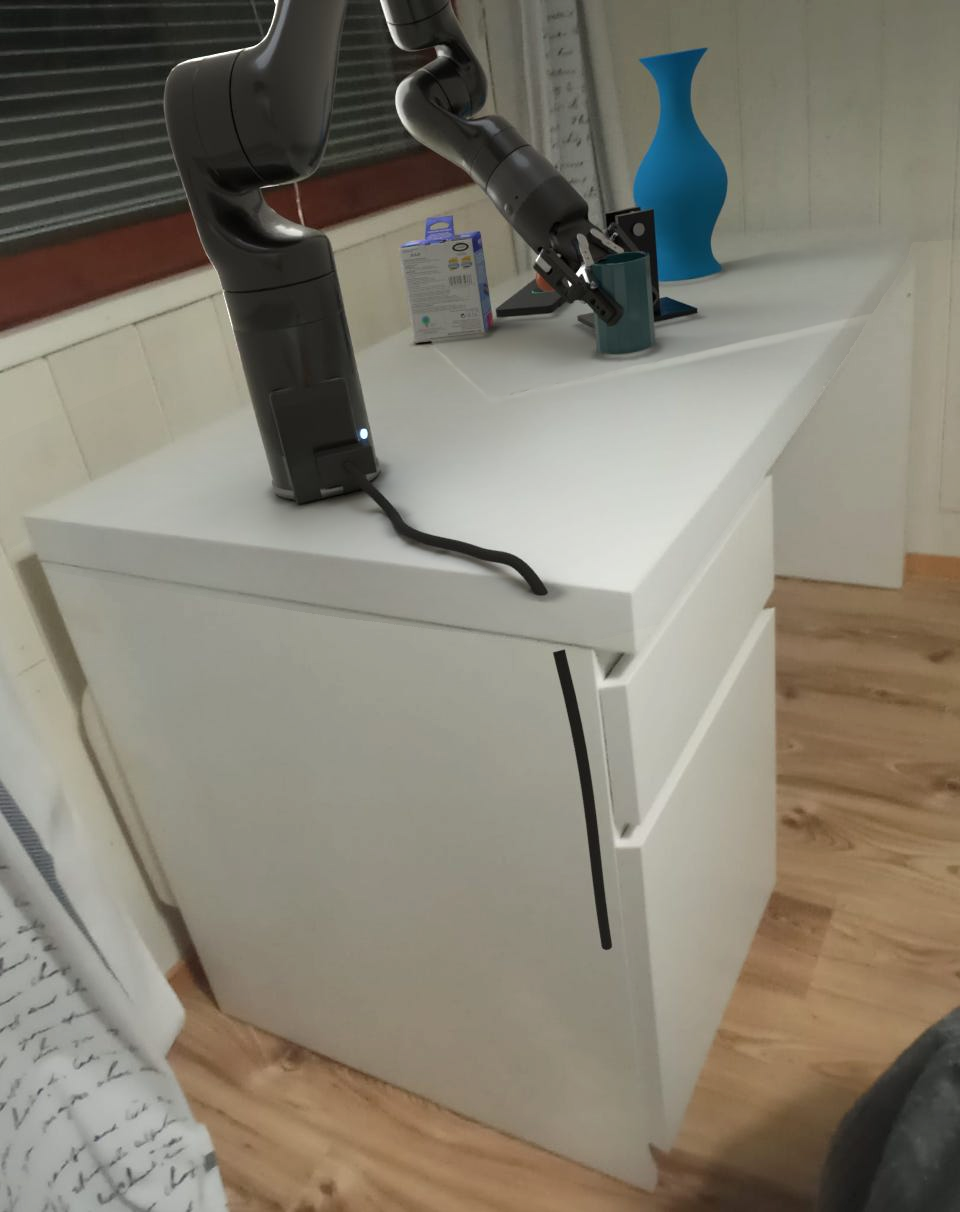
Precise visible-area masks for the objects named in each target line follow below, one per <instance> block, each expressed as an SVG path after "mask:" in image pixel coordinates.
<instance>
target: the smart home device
mask: <svg viewBox="0 0 960 1212" xmlns="http://www.w3.org/2000/svg"><path fill="white" fill-rule="evenodd" d="M562 283H563V284H564V285H565V286H566V287H567V288H568V289H569V288H570V286H569V283H568V281H567V279H566V278H565V277H564V278H563V281H562ZM564 303H566V301H565V300H564V299H563V298H562V297H561V296H560V295H559V294H558V293H557V292H556V291H552V292H546V291H543V290H542V289H540V288H539V286H538V285H537V283H536V278H534V279H532V280H531V281H530V282H529V283H527V284H526V285H525V286H523V287H522V288H521V289H520V290H518V291H517V292H515V293H514V294H513V295H512V296H510V297H509V298H508V299H506V300H505V301H504V302H502V303H501V304H500V305H499V306H497V307H496V308H495V315H496V318H509V317H521V316H532V315H533V316H534V315H544V314H552V313H553V312H555V311H556V310H558V309H559V308H560V307H561V306H562V305H563V304H564Z"/></svg>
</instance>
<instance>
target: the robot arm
mask: <svg viewBox="0 0 960 1212" xmlns="http://www.w3.org/2000/svg"><path fill="white" fill-rule="evenodd" d="M273 1H274V3H275V8H274V13H273V17H272V21H271V24H270V27H269V28H268V31H267V34H266V36H265V37H264V38H263V39H262V40H261V41H260V42H259V43H258V44H256V45H254V46H250V47H245V48H241V49H236V50H230V51H226V52H220V53H216V54H215V53H214V54H211V55H205V56H201V57H196V58H192V59H188V60H186V61H183V62H181V63H178V64H177V65H175V66H174V67H173V68H172V69H171V70H170V72H169V74H168V76H167V78H166V82H165V86H164V92H163V112H164V113H163V114H164V122H165V126H166V127H165V128H166V132H167V136H168V140H169V145H170V148H171V151H172V154H173V158H174V162H175V164H176V168H177V171H178V174H179V177H180V180H181V183H182V186H183V189H184V193H185V195H186V198H187V201H188V204H189V207H190V211H191V215H192V217H193V220H194V223H195V226H196V227H195V228H196V230H197V233H198V237H199V239H200V243H201V245H202V248H203V250H204V252H205V254H206V256H207V257H208V259H209V261H210V263H211V264H212V267H213V268H214V270H215V271H216V274H217V276H218V279H219V283H220V287H221V290H222V295H223V298H224V302H225V307H226V309H227V313H228V317H229V321H230V324H231V329H232V333H233V337H234V341H235V344H236V348H237V352H238V356H239V361H240V363H241V366H242V371H243V374H244V378H245V382H246V386H247V390H248V393H249V397H250V400H251V401H250V402H251V405H252V408H253V412H254V417H255V420H256V423H257V427H258V431H259V435H260V438H261V442H262V446H263V449H264V452H265V453H264V454H265V456H266V460H267V464H268V467H269V472H270V475H271V484H272V487H273V490H274V494H276V495H277V496H279V497H280V498H284V499H288V500H293V501H295V503H296V504H297V505H298V504H303V503H304V504H305V503H308V502H312V501H317V500H321V499H325V498H329V497H334V496H338V495H343V494H346V493H351V492H355V491H359V490H363V491H364V492H365V493H366V494H367V495H368V496H369V497H370V498H371V500H373V501H374V503H376V505H378V506H379V507H380V509H381V510H382V511H383V512H384V513H385V514H386V515H387V517H388V518H389V519H390V521H391V523H392V524H393V526H394V528H395V530H397V532H398V533H400V534H401V535H403V536H404V537H406V538H408V539H410V540H412V541H414V542H416V543H420V544H422V545H425V546H430V547H433V548H438V549H442V550H446V551H450V552H451V551H452V552H455V553H459V554H462V555H467V556H469V557H471V558H472V557H473V558H474V559H478V560H482V561H484V562H490V563H496V564H500V565H502V564H503V565H506V566H509V567H510V568H512V569H513V570H515V572H517V573H518V574H519V575H520V576H521V577H522V579H524V581H525V582H526V584H527V585H528V586H529V587H530V589H531V590H532V592H533V593H534V595H536V596H539V597H540V596H541V597H543V596H546V595H548V593H549V591H548V589H547V588H546V586H545V584H544V582H543V581H542V580H541V578H540V577H539V575H538V574H537V573H536V572H535V570H534V569H533V568H532V567H531V566H530V564H528V563H527V562H526V561H524V560H523V559H522V558H520V557H519V556H517V555H515V554H513V553H510V552H507V551H504V550H503V551H502V550H495V549H489V548H485V547H481V546H478V545H475V544H472V543H468V542H466V541H461V540H459V539H458V540H457V539H453V538H449V537H443V536H439V535H434V534H430V533H426V532H424V531H420V530H418V529H416V528H413V527H412V526H410V525H409V524H407V523H406V522H405V521H404V520H403V518H402V516H401V514H400V513H399V512H398V510H397V509H396V507H394V505H393V504H392V503H391V502H390V501H389V500H388V499H387V498H386V496H384V494H382V493H381V492H380V490H379V489H377V488H376V487H375V486H374V485H373V483H372V482H371V481H372V480H374V479H375V478H377V476H378V475H379V474H380V471H381V467H380V462H379V458H378V456H377V453H376V449H375V444H374V439H373V434H372V430H371V426H370V421H369V418H368V417H369V415H368V412H367V407H366V402H365V398H364V393H363V389H362V383H361V379H360V374H359V370H358V365H357V359H356V356H355V351H354V346H353V341H352V337H351V334H350V327H349V323H348V318H347V313H346V309H345V303H344V299H343V293H342V288H341V284H340V279H339V274H338V269H337V264H336V259H335V254H334V250H333V246H332V243H331V240H330V239H329V237H328V235H326V234H325V233H324V232H323V231H321V230H320V229H319V230H318V229H317V228H313V227H309V226H307V225H306V226H305V225H302V224H299V223H297V222H294V221H291V220H289V219H287V218H285V217H284V216H282V215H280V214H279V213H277V212H276V211H275V210H274V209H273V208H271V206H270V205H269V204H268V203H267V201H266V199H265V197H264V195H263V192H262V189H263V188H268V187H275V186H284V185H289V184H294V183H297V182H301V181H304V180H305V179H308V178H309V177H310V176H312V175H314V174H315V172H316V171H317V170H318V169H319V167H320V166H321V163H322V160H323V159H324V156H325V153H326V150H327V146H328V142H329V138H330V131H331V126H332V119H333V108H334V101H335V91H336V82H337V75H338V74H337V73H338V64H339V57H340V49H341V42H342V36H343V29H344V24H345V20H346V14H347V9H348V3H349V0H273ZM379 2H380V5H381V9H382V13H383V16H384V18H385V23H386V24H387V28H388V31H389V35H390V37H391V39H392V41H393V43H394V45H396V47H398V48H399V49H400V50H402V51H406V52H418V51H423V50H427V49H430V48H431V49H432V48H434V50H435V53H436V58H435V59H434V60H432V61H430V62H429V63H427V64H426V65H424V66H422V67H420V68H419V69H417V70H416V71H414V72H413V73H411V74H409V75H408V76H406V77H405V78H404V79H403V80H402V81H401V82H400V83H399V84H398V86H397V88H396V91H395V94H394V95H395V96H394V104H395V110H396V113H397V115H398V118H399V120H400V123H401V124H402V125H403V127H404V129H406V131H407V132H408V133H409V134H410V135H411V136H412V137H413V139H415V140H416V141H418V142H419V143H420V144H422V145H423V146H425V147H426V148H428V149H430V150H432V151H433V152H435V153H436V154H438V155H439V156H441V157H442V158H444V159H447V161H449V162H450V163H452V164H454V165H455V166H457V167H459V168H460V169H462V170H463V171H464V172H466V173H467V175H468V176H470V178H471V179H472V180H473V181H474V182H475V183H476V184H477V186H478V187H479V188H480V189H481V190H482V192H484V193H485V195H486V196H487V197H488V199H490V201H491V202H492V204H493V206H494V208H496V210H497V211H498V212H499V214H500V215H501V216H502V217H503V218H504V219H505V220H506V222H507V223H508V224H509V225H510V226H511V228H512V229H513V230H514V231H515V232H516V233H517V234H518V235H519V236H520V237H521V239H522V240H523V241H524V242H525V243H526V244H527V246H529V247H530V249H531V250H532V251H533V252H534V254H536V255H537V257H536V258H535V260H534V262H533V263H532V266H531V267H532V268H533V270H534V272H536V273H538V274H539V275H540V276H541V277H542V278H543V279H544V280H545V281H546V282H547V283H548V284H549V285H550V286H551V287H552V288H553V289H554V290H555V291H556V292H557V293H558V294H559V295H560V296H561V297H562V298H563V299H564V300H565V303H568V304H574V302H575V301H579V302H580V303H582V304H583V305H585V304H586V305H588V307H589V308H590V309H591V310H592V312H593V311H594V312H595V313H596V314H597V315H598V316H599V318H600V319H601V320H602V321H604V322H605V323H606V324H607V325H608V326H610V327H611V326H613V325H615V324H616V323H617V322H618V321H619V319H620V318H621V317H622V315H623V310H622V309H621V307H620V306H619V305H618V304H617V303H616V302H615V301H614V300H613V298H612V297H611V296H610V295H609V294H608V293H607V292H606V291H605V290H604V289H603V288H602V287H600V288H598V287H599V284H598V281H597V279H596V277H595V276H594V274H593V271H592V264H593V263H596V264H597V263H598V262H604V261H606V260H607V259H608V257H605V256H606V255H608V254H616V253H621V252H631V251H639V250H638V248H637V247H636V246H635V245H634V244H633V242H632V241H631V240H630V239H629V237H628V236H627V235H626V234H625V233H624V231H623V230H622V229H621V228H620V226H619V225H618V224H616V223H614V222H612V223H611V224H610V225H609V227H608V228H607V229H604V228H603V229H601V228H600V227H599V226H597V225H595V224H594V223H592V222H591V221H590V219H589V211H590V208H589V204H588V202H587V201H586V200H585V198H583V196H582V195H581V193H579V192H578V191H577V190H576V189H575V188H574V186H572V184H571V183H570V182H569V181H568V180H567V179H566V178H565V177H564V175H563V174H561V172H560V171H559V170H558V169H557V168H556V167H555V166H554V165H553V164H552V163H551V161H550V160H549V159H548V158H546V157H545V155H543V154H542V153H540V152H539V151H538V150H537V149H536V148H535V147H534V146H533V145H532V144H531V143H530V141H528V140H527V138H525V137H524V135H523V134H522V133H521V132H520V131H519V130H518V128H517V127H516V125H514V124H513V123H512V122H511V120H509V119H508V118H507V117H505V116H503V115H501V114H499V113H493V114H488V115H484V116H480V117H477V118H473V117H475V116H476V115H477V114H479V113H480V112H481V111H482V110H483V109H484V108H485V106H486V104H487V100H488V95H489V81H488V76H487V74H486V71H485V68H484V67H483V64H482V63H481V61H480V59H479V57H478V56H477V54H476V53H475V50H474V49H473V47H472V45H471V44H470V42H469V40H468V38H467V36H466V34H465V32H464V30H463V28H462V26H461V24H460V22H459V20H458V18H457V16H456V14H455V11H454V9H453V6H452V2H451V0H379ZM472 118H473V119H472ZM564 277H565V278H566V279H567V281H568V283H569V286H570V288H569V289H568V288H567V287H566V286H565V285H564V284H563V283H562V280H563V278H564ZM659 297H660V292H659V293H658V291H657V290H656V289H655V288H654V287H653V286H652V298H653V305H654V304H655V303H656V301H657V300H658V299H659ZM660 298H661V297H660ZM552 656H553V659H554V663H555V667H556V668H555V669H556V672H557V675H558V679H559V683H560V688H561V693H562V696H563V700H564V701H563V702H564V706H565V709H566V713H567V719H568V723H569V728H570V733H571V739H572V744H573V748H574V754H575V759H576V765H577V772H578V776H579V784H580V790H581V796H582V805H583V811H584V819H585V827H586V837H587V844H588V845H587V847H588V852H589V853H588V854H589V862H590V870H591V871H590V873H591V879H592V888H593V896H594V904H595V911H596V919H597V926H598V933H599V938H600V945H601V948H602V949H603V950H604V951H608V950H609V951H610V950H611V949H612V948H613V942H612V934H611V929H610V920H609V915H608V913H609V912H608V906H607V897H606V890H605V882H604V881H605V880H604V871H603V861H602V852H601V845H600V835H599V825H598V816H597V809H596V800H595V792H594V786H593V778H592V773H591V772H592V771H591V767H590V766H591V765H590V761H589V760H590V759H589V755H588V754H589V753H588V749H587V743H586V738H585V733H584V728H583V721H582V718H581V713H580V709H579V703H578V698H577V694H576V691H575V686H574V682H573V678H572V673H571V670H570V669H571V668H570V665H569V660H568V657H567V652H566V648H564V649H560V650H557V651H553V652H552Z"/></svg>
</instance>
